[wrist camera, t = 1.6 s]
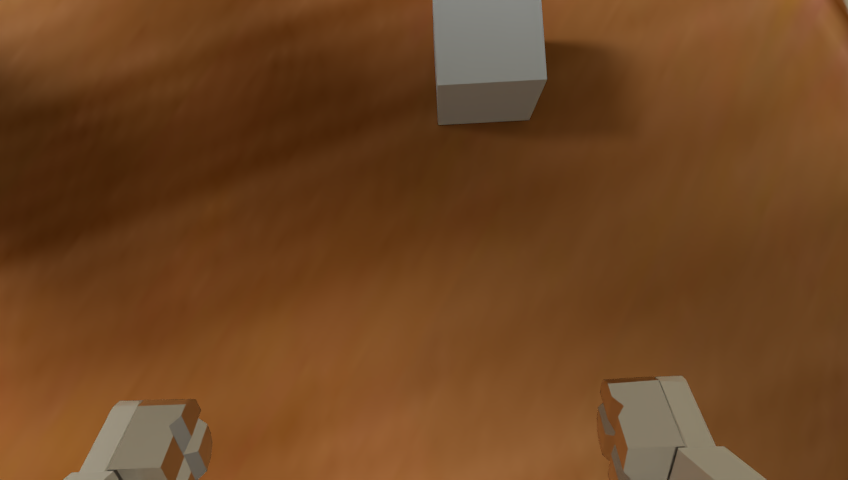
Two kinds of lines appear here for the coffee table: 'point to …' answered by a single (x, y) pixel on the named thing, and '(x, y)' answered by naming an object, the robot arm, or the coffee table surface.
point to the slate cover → (488, 59)
